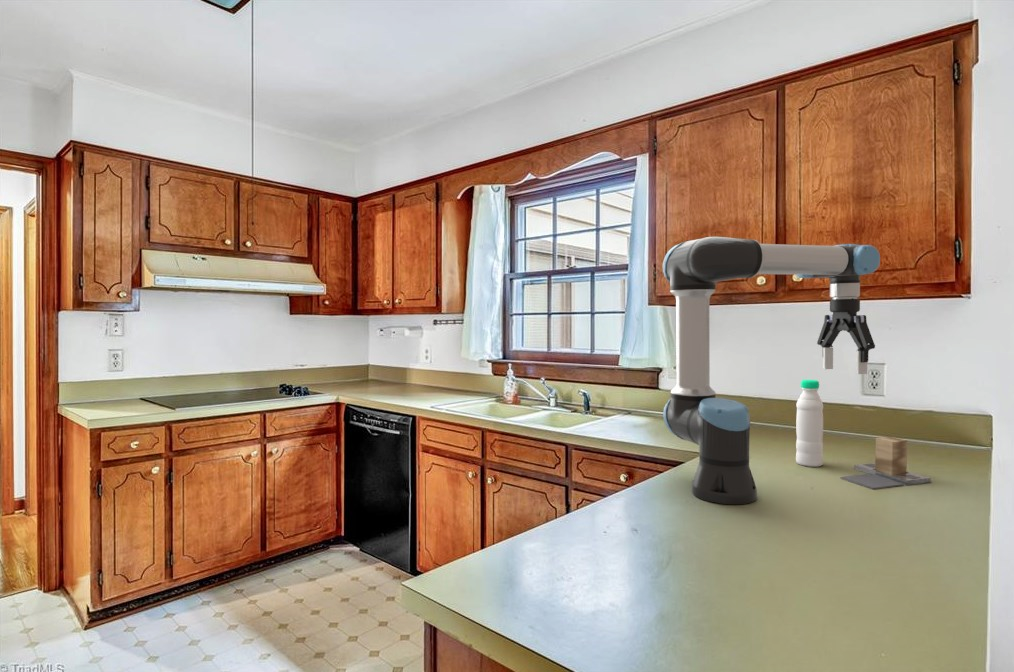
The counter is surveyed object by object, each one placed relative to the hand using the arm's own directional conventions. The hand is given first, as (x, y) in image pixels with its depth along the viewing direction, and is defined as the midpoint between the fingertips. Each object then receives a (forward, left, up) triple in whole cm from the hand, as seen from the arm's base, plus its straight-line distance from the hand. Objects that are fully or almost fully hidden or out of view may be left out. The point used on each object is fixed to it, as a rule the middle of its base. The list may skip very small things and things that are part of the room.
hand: (844, 371), depth 165 cm
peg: (+3, -12, -28) cm, 30 cm away
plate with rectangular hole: (+3, -12, -28) cm, 30 cm away
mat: (-7, -15, -28) cm, 32 cm away
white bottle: (-9, +4, -28) cm, 29 cm away
